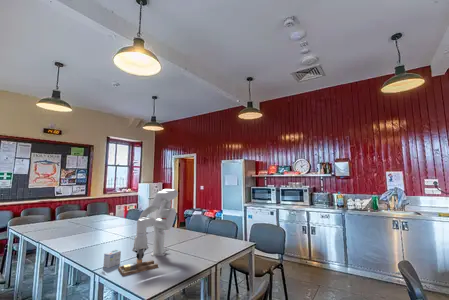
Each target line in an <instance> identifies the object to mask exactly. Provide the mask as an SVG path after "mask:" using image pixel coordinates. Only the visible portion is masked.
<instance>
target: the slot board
mask: <svg viewBox="0 0 449 300" xmlns="http://www.w3.org/2000/svg"><path fill="white" fill-rule="evenodd" d="M135 264H136V270H133V271H128V272H123V265H120V266H118V268H117V270H118V271H119V273H120V275H121V276H122V277H124V276H129V275H134V274H137V273H141V272H145V271H150V270H155V269H159V263H158V262H157V263H155V260H154V259H151V260H147V261H142V263H137V262H136V263H135Z"/></svg>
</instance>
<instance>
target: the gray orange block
mask: <svg viewBox="0 0 449 300" xmlns="http://www.w3.org/2000/svg"><path fill="white" fill-rule="evenodd" d="M142 255H143V249H140V250H139V259H137V258H136V264H137V263H142V262H143V258H142Z"/></svg>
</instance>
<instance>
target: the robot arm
mask: <svg viewBox="0 0 449 300" xmlns="http://www.w3.org/2000/svg"><path fill="white" fill-rule="evenodd" d="M178 195H179V192H178V191H177V189H175V188H174V189H173V188H172V189H171V188H164V189H162V190H161V191H158V192H156V193H155V195H154V198H153V199H152V201H151V203H150V205H148V207H146V208H145V209H144V210H143V211H142V212H141V214H140V216H139V218H138V219H137V221H136V236H135V237H134V241H133V247H132V250H131V251H132V252H134V253H136V254H135V255H136V257H135V258H136V260H137V259H139V250H140V249H143V255H142V259H143V258H144V257H145V252H146V251H147V250H149V245H148V234H149V232H147V228H151V227H153V246H152V247H153V251H152V252H151V253H150V254H151V256H152V257H156V256H161V257H162V256H163V257H164V256H165V255H167V253H166V252H170V248H165V239H166V238H165V237H166V236H165V235H166V233H165V231H170V230H171V229H172V227H173V224H174V221H175V220H176V209H175V208H172V200H174V199H176V198H177V197H178ZM158 210H159V212H158V217H160V218H156V219H155V218H154V217H151V216H149V215H150V214H152V213H154V212H156V211H158Z"/></svg>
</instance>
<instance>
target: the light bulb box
mask: <svg viewBox="0 0 449 300" xmlns="http://www.w3.org/2000/svg"><path fill="white" fill-rule="evenodd" d="M121 253H122V251H121V250H118V249H114V250H112V251H108V252H105V253H103V254H104V255H103V266H102V267H103V268H108V269H111V268H113V267H115V266H117V265H120V264H121V256H122V255H121Z"/></svg>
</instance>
